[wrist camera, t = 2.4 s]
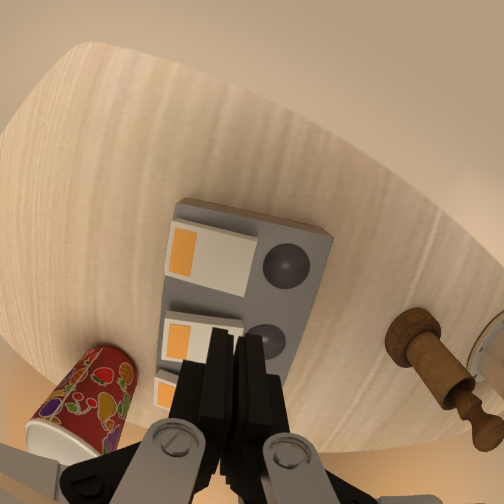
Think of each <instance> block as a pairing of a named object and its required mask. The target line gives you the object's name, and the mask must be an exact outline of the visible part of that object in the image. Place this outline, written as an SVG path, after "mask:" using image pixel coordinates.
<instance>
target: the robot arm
mask: <svg viewBox="0 0 504 504" xmlns="http://www.w3.org/2000/svg"><path fill="white" fill-rule="evenodd" d="M233 353H234V355H233ZM467 371H468V372H469V373H470V374H471V375H472V376H473V377H474V378H475V381H476V383H480V382H484V381H487V382H488V383H489V384H490V386H491V387H492V388H493V389H494V390H495V391H496V392H497V393H498V394H499V396H500V397H501V398H502V399H503V400H504V312H503V313H502V314H500V315H499V316H497V317H496V318H495V319H494V320H493V321H492V322H491V323H490V325H489V326H488V327H487V328H486V329H485V331H484V332H483V333H482V335H481V336H480V338H479V340H478V341H477V343H476V345H475V347H474V349H473V351H472V353H471V356H470V359H469V362H468V367H467ZM219 460H220V475H223V476H224V475H225V476H226V484H230V488H231V490H232V491H234V492H235V493H236V494H237V495H238V502H239V504H443V502H442V501H441V500H440V499H439V498H438V497H436V496H434V495H428V494H427V495H415V496H414V495H413V496H381V497H380V498H378V499H374V498H373V497H372V496H370V495H369V494H367V493H365V492H363V491H361V490H359V489H358V488H356V487H354V486H352V485H350V484H349V483H347V482H345V481H344V480H342V479H340V478H338V477H337V476H335V475H334V474H332V473H330V472H329V471H327V470H326V469H324V467H323V465H322V462H321V460H320V458H319V456H318V453H317V451H316V449H315V447H314V446H313V444H312V443H311V442H309V441H308V440H307V439H306V438H304V437H302V436H300V435H297V434H293V433H290V430H289V424H288V418H287V413H286V407H285V402H284V396H283V391H282V385H281V379H280V376H279V375H275V374H267V373H266V365H265V357H264V349H263V341H262V336H261V335H256V334H250V333H245V335H244V337H243V336H238V339H237V343H236V347H235V351H234V335H231V334H228V330H227V329H222V328H217V327H212V332H211V337H210V342H209V348H208V353H207V358H206V364H204V363H199V362H194V361H190V360H185V359H183V362H182V365H181V369H180V373H179V377H178V381H177V385H176V389H175V393H174V397H173V401H172V405H171V409H170V413H169V417H168V418H165V419H162V420H158V421H157V422H155V423H153V424H152V425H151V426H150V427H149V429H148V430H147V432H146V434H145V436H144V438H143V440H142V441H140V442H138V443H135V444H133V445H130V446H127V447H125V448H122V449H119V450H116V451H113V452H110V453H107V454H104V455H101V456H98V457H95V458H92V459H89V460H85V461H82V462H79V463H75V464H73V465H71V466H67V465H63V464H60V463H59V461H57V460H53V459H49V458H46V457H42V456H38V455H35V454H32V453H28V452H25V451H22V450H19V449H16V448H13V447H10V446H8V445H5V444H2V443H0V504H192V500H193V497H194V494H195V493H197V492H199V491H201V490H202V489H204V488H206V487H208V485H209V482H210V479H211V475H212V474H215V472H216V469H217V466H218V463H219ZM479 504H480V503H479Z"/></svg>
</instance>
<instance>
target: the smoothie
mask: <svg viewBox="0 0 504 504" xmlns="http://www.w3.org/2000/svg"><path fill="white" fill-rule="evenodd" d="M136 385H137V377H136V374H135V368H134V366H133V363H132V362H131V361H130V359H129V358H128V357H127V356H126V355H125V354H124V353H122V352H121V351H119V350H117V349H115V348H112V347H109V346H100V347H98V348H93V349H91V350H88V351H87V352H86V354H85V355H84V356H83V357H82V358H81V359H80V360H79V362H78V363H77V364H76V365H75V366H74V367H73V368H72V370H71V371H70V372H69V373H68V374H67V375H66V377H65V378H64V379H63V380H62V381H61V383H60V384H59V385H58V386H57V387H56V388H55V390H54V391H53V392H52V393H51V395H50V396H49V397H48V398H47V399H46V401H45V402H44V403H43V404H42V405H41V407H40V408H39V409H38V410H37V412H36V413H35V414H34V416H33V417H32V418H31V419H30V420H29V421H28V422H27V423H26V432H27V434H26V445H27V451H28V453H32V454H35V455H38V456H42V457H46V458H49V459H53V460H57V461H59V463H60V464H63V465H67V466H71V465H73V464H75V463H79V462H82V461H85V460H89V459H92V458H95V457H98V456H101V455H104V454H107V453H110V452H113V451H116V450H117V446H118V443H119V439H120V436H121V433H122V429H123V426H124V423H125V419H126V416H127V413H128V410H129V407H130V403H131V400H132V397H133V394H134V391H135V388H136Z"/></svg>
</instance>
